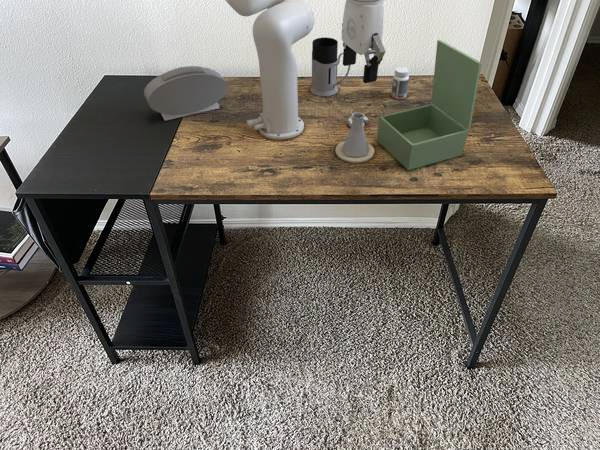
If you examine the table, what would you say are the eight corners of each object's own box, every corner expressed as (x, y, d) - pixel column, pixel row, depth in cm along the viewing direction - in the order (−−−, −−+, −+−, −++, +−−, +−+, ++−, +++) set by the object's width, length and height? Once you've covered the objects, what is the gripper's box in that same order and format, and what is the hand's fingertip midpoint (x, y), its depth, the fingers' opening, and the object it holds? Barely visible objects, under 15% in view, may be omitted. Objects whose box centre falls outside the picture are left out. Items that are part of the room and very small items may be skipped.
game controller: (359, 132, 124) (360, 123, 123) (326, 119, 130) (326, 110, 128) (371, 124, 127) (372, 115, 126) (338, 111, 133) (339, 103, 131)
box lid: (479, 63, 98) (481, 62, 98) (437, 40, 109) (439, 39, 109) (467, 129, 110) (470, 128, 110) (431, 102, 120) (433, 102, 121)
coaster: (346, 166, 112) (346, 164, 112) (329, 146, 119) (329, 144, 119) (381, 157, 115) (381, 155, 115) (362, 138, 122) (362, 136, 122)
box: (407, 170, 111) (412, 145, 106) (376, 140, 121) (379, 116, 116) (462, 155, 115) (468, 130, 110) (427, 127, 126) (432, 103, 121)
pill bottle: (408, 94, 141) (412, 67, 135) (404, 100, 137) (408, 74, 132) (393, 91, 142) (396, 65, 136) (389, 97, 139) (392, 71, 133)
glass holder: (323, 81, 148) (323, 34, 138) (357, 94, 141) (360, 46, 131) (304, 90, 144) (304, 42, 134) (338, 104, 136) (340, 55, 126)
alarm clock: (224, 98, 141) (218, 57, 132) (230, 106, 137) (225, 65, 128) (149, 115, 134) (138, 73, 125) (153, 124, 129) (142, 82, 121)
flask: (370, 157, 114) (374, 122, 107) (342, 158, 114) (343, 122, 107) (368, 142, 119) (371, 107, 113) (340, 142, 119) (342, 108, 113)
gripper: (331, -18, 96) (327, 61, 108) (371, 6, 85) (362, 92, 96) (362, -22, 98) (355, 56, 110) (405, 1, 87) (393, 86, 98)
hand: (359, 72), depth 103 cm, fingers open, 9 cm apart
